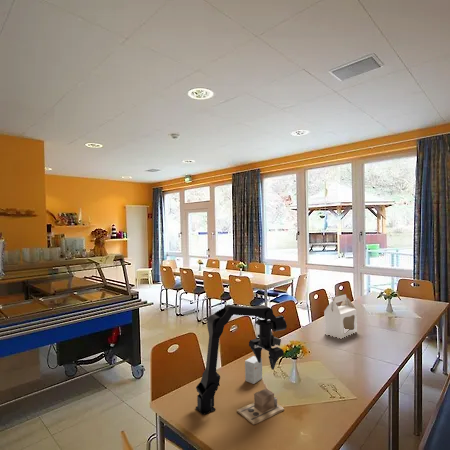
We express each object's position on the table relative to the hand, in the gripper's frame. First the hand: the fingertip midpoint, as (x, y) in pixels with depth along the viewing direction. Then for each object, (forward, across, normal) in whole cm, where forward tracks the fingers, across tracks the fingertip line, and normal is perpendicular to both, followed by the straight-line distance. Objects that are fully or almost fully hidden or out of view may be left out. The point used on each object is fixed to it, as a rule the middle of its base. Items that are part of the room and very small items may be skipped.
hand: (266, 365), depth 146 cm
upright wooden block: (+12, -9, +9) cm, 18 cm away
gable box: (+13, +30, -101) cm, 106 cm away
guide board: (+13, -9, +12) cm, 20 cm away
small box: (+13, +14, -4) cm, 20 cm away
